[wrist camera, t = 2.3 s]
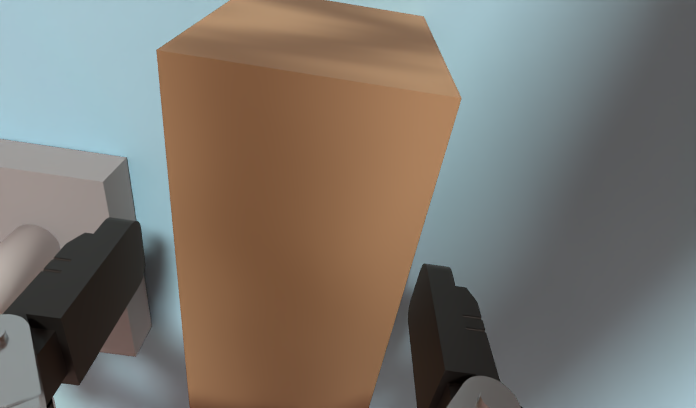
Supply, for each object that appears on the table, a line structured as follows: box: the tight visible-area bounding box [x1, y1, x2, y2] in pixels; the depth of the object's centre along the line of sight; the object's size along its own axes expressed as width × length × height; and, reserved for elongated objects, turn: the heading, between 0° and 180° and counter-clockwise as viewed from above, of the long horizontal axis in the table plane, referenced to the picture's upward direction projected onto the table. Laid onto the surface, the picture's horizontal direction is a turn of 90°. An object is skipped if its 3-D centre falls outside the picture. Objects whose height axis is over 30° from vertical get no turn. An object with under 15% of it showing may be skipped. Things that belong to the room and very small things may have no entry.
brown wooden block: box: [156, 0, 461, 408], centre depth 13 cm, size 4×13×6 cm, turn 172°
